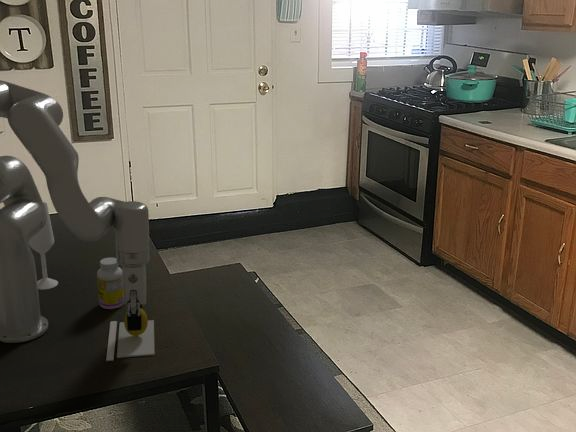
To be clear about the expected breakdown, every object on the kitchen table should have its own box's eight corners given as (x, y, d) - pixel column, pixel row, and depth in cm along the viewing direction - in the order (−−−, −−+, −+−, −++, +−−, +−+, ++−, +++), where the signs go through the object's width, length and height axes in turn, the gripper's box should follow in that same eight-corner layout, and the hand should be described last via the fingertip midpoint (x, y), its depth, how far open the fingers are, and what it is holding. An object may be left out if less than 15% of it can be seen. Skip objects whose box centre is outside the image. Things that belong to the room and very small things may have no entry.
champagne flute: (63, 283, 179) (56, 204, 171) (43, 291, 173) (34, 210, 165) (48, 277, 182) (40, 199, 174) (28, 285, 177) (19, 205, 169)
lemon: (142, 343, 149) (141, 313, 146) (121, 340, 150) (119, 310, 147) (151, 332, 154) (150, 303, 152) (130, 329, 155) (129, 300, 152)
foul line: (106, 361, 142) (106, 360, 142) (110, 322, 159) (110, 321, 159) (113, 360, 142) (113, 359, 142) (117, 322, 159) (117, 321, 159)
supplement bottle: (98, 300, 170) (95, 257, 165) (122, 297, 172) (120, 254, 168) (100, 311, 164) (97, 267, 160) (125, 308, 166) (123, 264, 162)
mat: (116, 357, 144) (116, 356, 143) (119, 323, 158) (119, 322, 158) (154, 355, 145) (154, 353, 145) (153, 321, 160) (153, 320, 160)
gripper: (149, 269, 137) (151, 337, 143) (149, 240, 153) (150, 302, 159) (114, 270, 136) (117, 339, 141) (117, 241, 152) (120, 303, 157)
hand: (135, 319), depth 150 cm, fingers open, 9 cm apart
